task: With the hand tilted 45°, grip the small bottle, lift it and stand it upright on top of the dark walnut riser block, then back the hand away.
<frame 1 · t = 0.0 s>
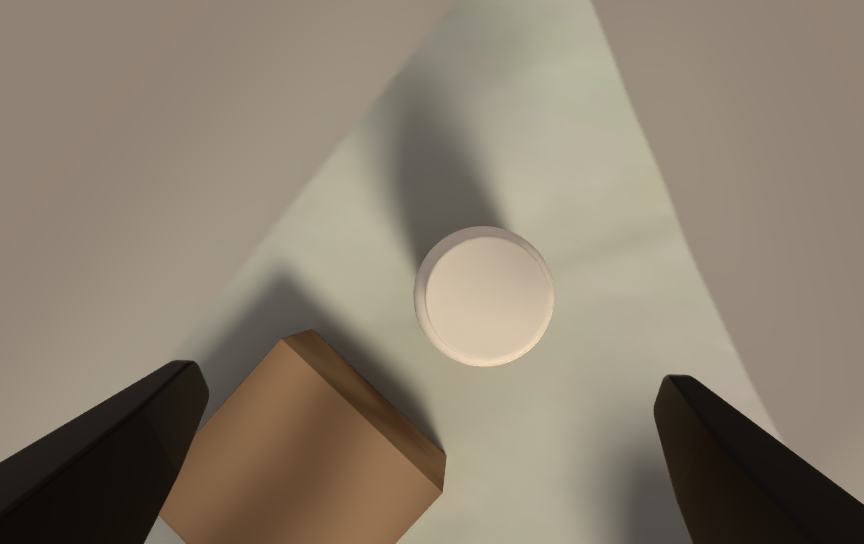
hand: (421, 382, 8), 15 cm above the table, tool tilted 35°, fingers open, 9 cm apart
walnut riser: (317, 458, 24), on the table
supplement bottle: (477, 291, 23), on the table
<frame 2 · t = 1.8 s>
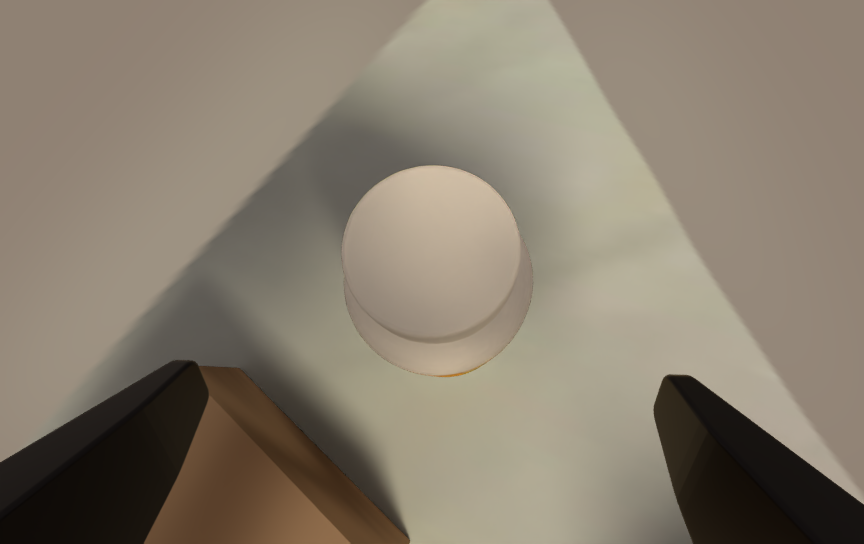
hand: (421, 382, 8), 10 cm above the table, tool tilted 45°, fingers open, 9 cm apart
supplement bottle: (446, 314, 19), on the table
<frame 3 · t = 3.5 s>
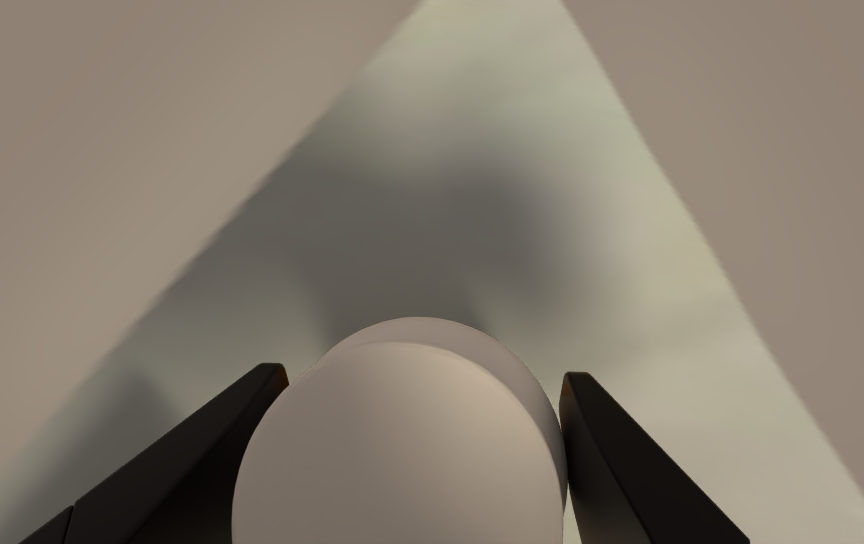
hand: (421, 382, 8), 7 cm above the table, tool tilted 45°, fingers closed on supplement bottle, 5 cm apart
supplement bottle: (438, 422, 15), on the table, touching gripper
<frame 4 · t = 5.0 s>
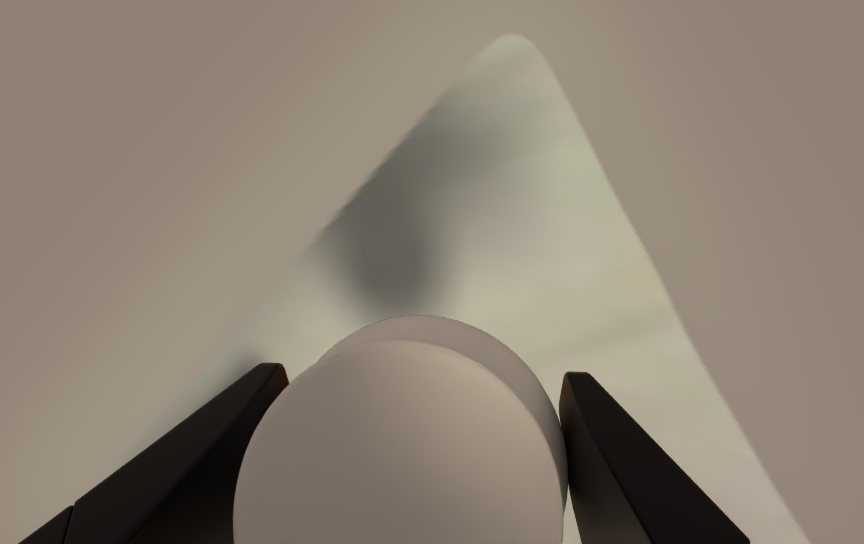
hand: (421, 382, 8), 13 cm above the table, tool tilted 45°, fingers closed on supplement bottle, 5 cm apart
supplement bottle: (439, 421, 15), point 6 cm above the table, touching gripper
when the fingers open (12 cm above the table, at t = 6.7 s): supplement bottle drops 1 cm, resting on walnut riser.
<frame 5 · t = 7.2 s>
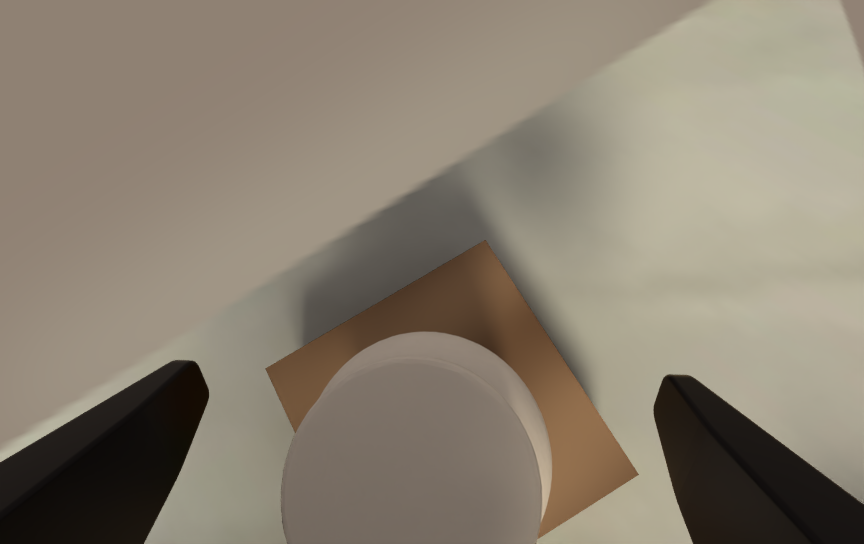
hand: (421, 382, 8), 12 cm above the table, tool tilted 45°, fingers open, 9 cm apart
walnut riser: (445, 410, 20), on the table
supplement bottle: (440, 422, 16), point 4 cm above the table, touching walnut riser
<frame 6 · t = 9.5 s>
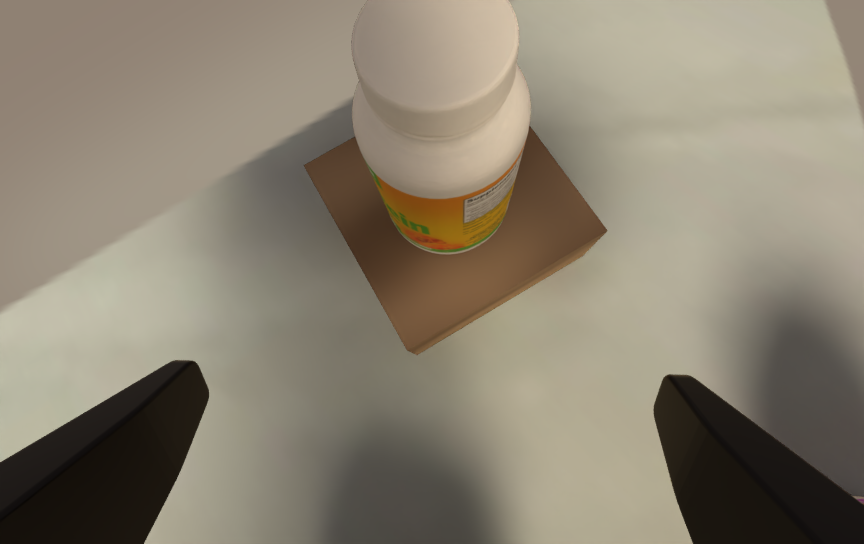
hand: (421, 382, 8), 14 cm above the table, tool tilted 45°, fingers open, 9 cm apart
walnut riser: (451, 226, 23), on the table
supplement bottle: (448, 201, 20), point 4 cm above the table, touching walnut riser
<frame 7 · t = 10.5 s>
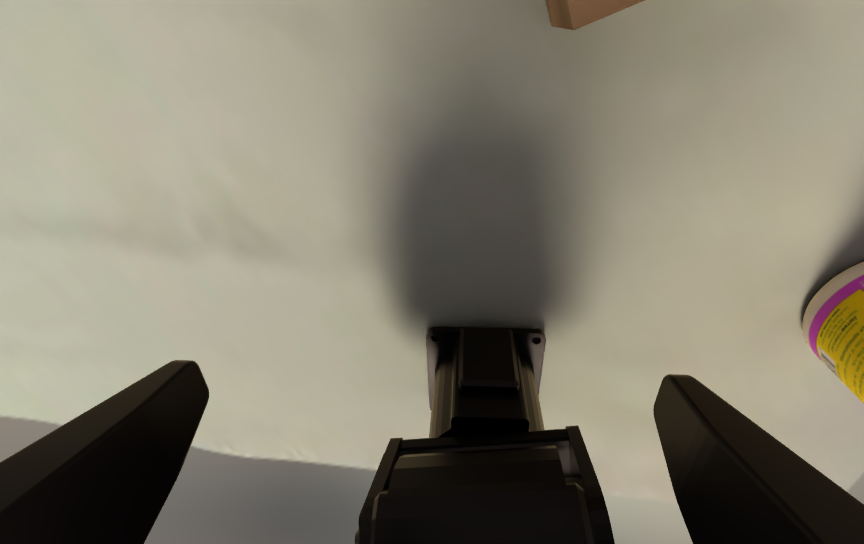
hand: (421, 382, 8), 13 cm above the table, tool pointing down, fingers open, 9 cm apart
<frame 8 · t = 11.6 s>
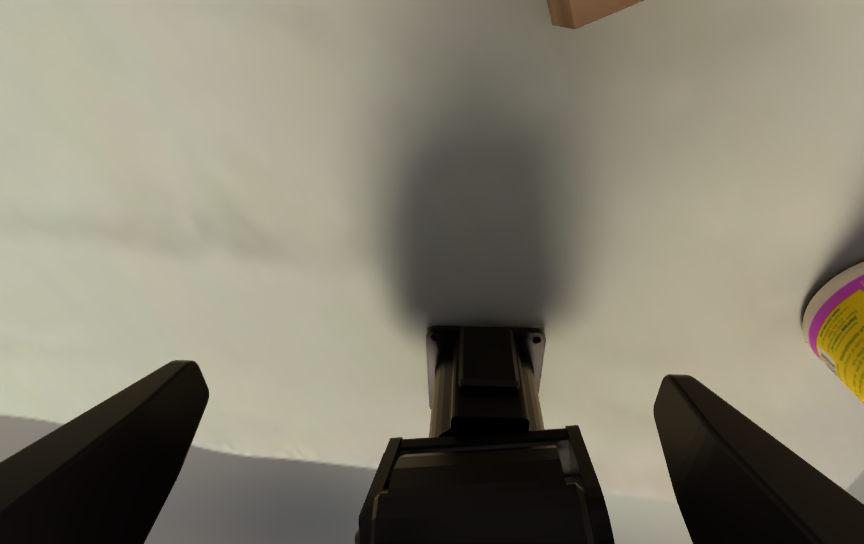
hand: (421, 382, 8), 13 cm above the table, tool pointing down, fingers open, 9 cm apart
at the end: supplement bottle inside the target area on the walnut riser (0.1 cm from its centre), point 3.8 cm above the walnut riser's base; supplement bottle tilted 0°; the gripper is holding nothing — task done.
